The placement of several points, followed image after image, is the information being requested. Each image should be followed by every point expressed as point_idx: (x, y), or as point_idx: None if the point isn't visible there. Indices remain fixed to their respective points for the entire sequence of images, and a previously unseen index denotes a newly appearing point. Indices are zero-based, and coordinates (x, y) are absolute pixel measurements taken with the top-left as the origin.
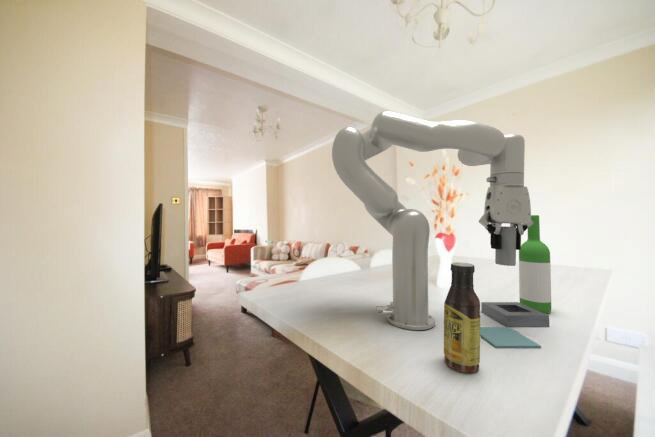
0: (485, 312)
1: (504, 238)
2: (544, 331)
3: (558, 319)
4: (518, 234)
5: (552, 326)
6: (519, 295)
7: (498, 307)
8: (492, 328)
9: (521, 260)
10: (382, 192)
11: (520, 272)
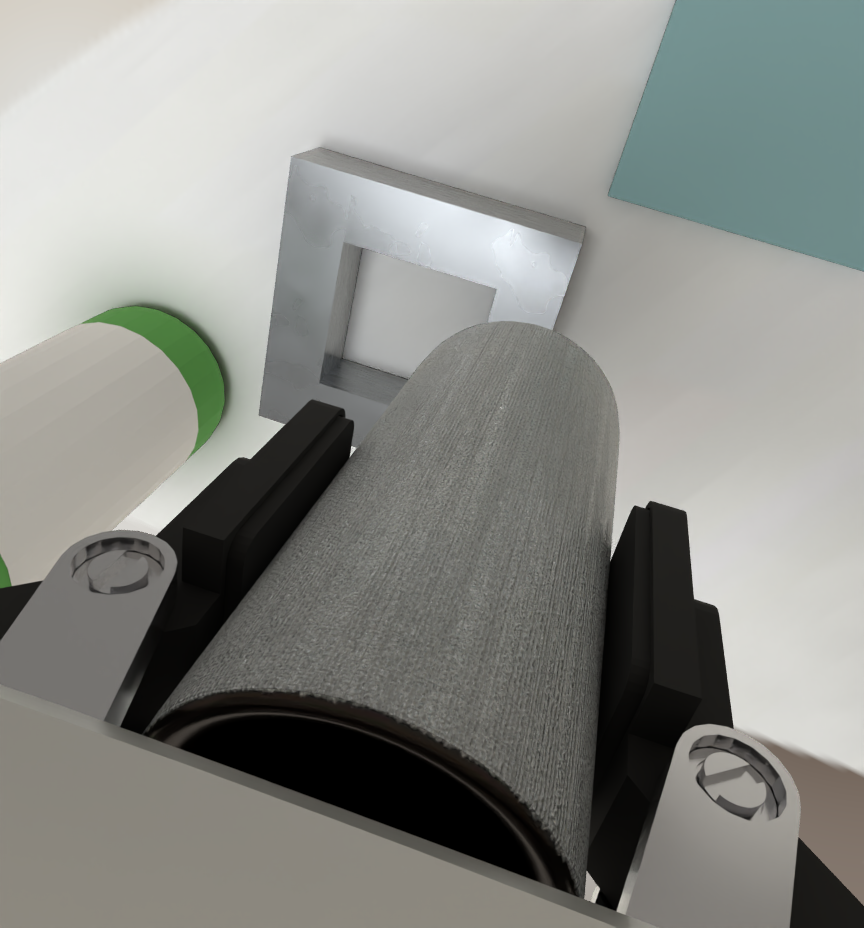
0: None
1: (577, 592)
2: (419, 98)
3: (155, 224)
4: (175, 587)
5: (293, 148)
6: (180, 466)
7: None
8: (744, 208)
9: None
10: None
11: None
